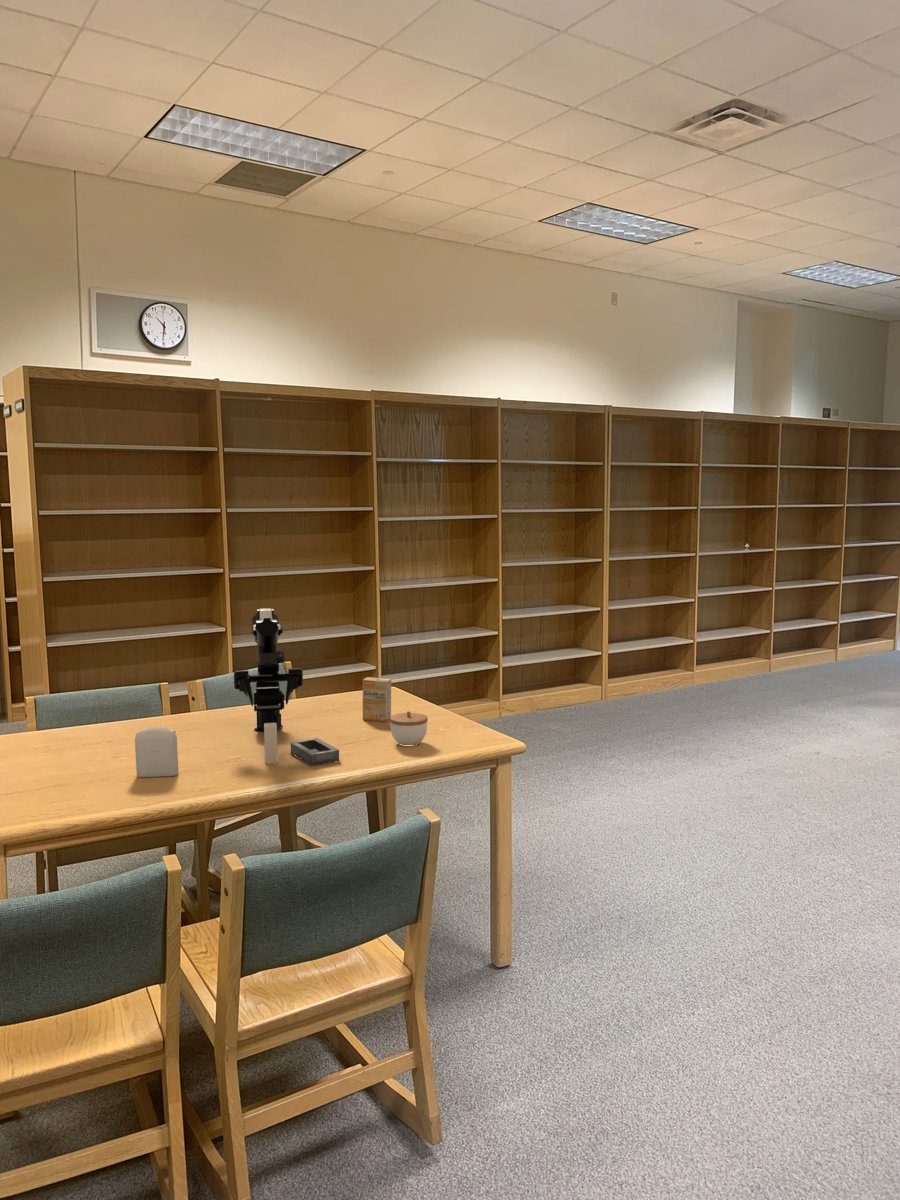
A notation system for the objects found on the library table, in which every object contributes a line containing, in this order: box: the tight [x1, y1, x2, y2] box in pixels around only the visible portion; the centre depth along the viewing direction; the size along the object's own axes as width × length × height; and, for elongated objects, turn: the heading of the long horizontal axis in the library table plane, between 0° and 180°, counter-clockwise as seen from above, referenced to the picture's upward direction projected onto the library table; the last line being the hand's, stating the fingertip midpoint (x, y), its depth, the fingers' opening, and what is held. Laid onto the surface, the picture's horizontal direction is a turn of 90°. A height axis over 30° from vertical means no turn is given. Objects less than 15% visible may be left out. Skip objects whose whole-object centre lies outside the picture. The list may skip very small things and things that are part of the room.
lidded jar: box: [389, 711, 429, 745], centre depth 247 cm, size 11×11×9 cm
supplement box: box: [362, 676, 392, 722], centre depth 274 cm, size 8×5×13 cm, turn 73°
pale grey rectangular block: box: [263, 723, 279, 764], centre depth 230 cm, size 4×3×10 cm
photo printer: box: [134, 726, 179, 778], centre depth 218 cm, size 10×4×12 cm, turn 96°
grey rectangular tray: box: [289, 737, 340, 767], centre depth 235 cm, size 14×8×3 cm, turn 33°
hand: (269, 704), depth 237 cm, fingers open, 9 cm apart
